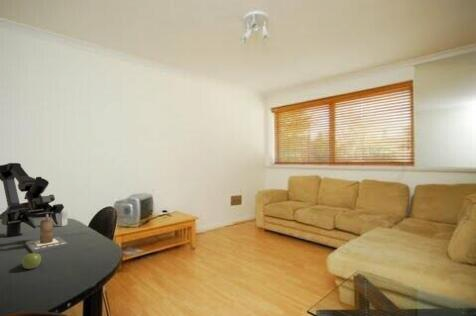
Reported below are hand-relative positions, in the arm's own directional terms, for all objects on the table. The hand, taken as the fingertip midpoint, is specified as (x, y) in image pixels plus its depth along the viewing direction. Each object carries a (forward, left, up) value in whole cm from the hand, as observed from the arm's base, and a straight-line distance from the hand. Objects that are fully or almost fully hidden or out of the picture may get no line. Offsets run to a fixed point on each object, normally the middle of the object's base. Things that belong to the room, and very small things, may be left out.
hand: (46, 225), depth 120 cm
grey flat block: (+1, 0, -9) cm, 9 cm away
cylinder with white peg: (0, 0, -8) cm, 8 cm away
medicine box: (-39, +14, -9) cm, 42 cm away
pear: (+26, -9, -9) cm, 29 cm away
